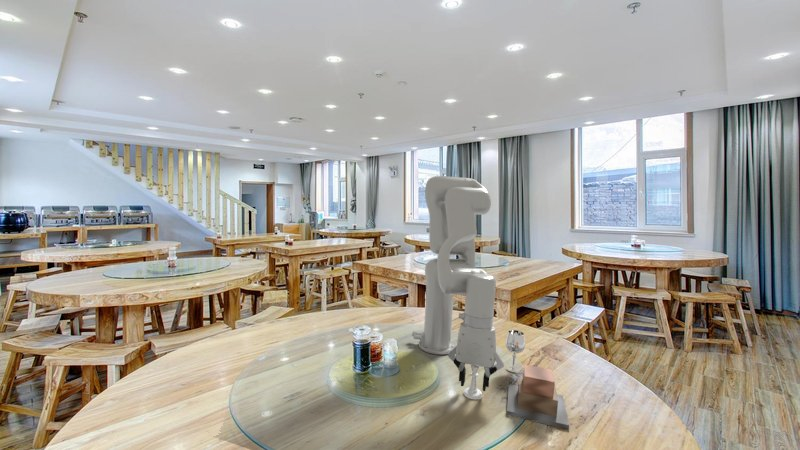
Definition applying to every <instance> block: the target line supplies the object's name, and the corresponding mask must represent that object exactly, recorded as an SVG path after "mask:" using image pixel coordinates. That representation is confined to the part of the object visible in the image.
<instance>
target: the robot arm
mask: <svg viewBox="0 0 800 450" xmlns="http://www.w3.org/2000/svg"><path fill="white" fill-rule="evenodd" d="M424 188H425V189H424V196H425V203H426V206H427V209H428V214H429V215H428V216H429V249H430V251H431V252H432V254H436V255H437V258H432V259H430V260H428V262H426V264H425V267H424V274H425V275H424V276H425V277H424V278H425V288H426V289H425V290H426V291H425V310H424V324H423V325H424V327H423V331H421V332H419V331H415V330H412V334H411V336H412V338H413V339H414V340H419V342H418V347H419V349H420V350H422V351H423V352H425V353H428V354H431V355H432V354H433V355H442V356H443V355H447V357H448V358H449V359H450V360H451V361H452V362H453V364H454V365H455V367H456V368H457V369H458V373H459V374H458V382H460V387H464V386H465V383H466V372H467V368H466V366H465V365H470V366H471V365H476V366H479V367H482V368H483V370H484V373H483V377H482V378H483V379H482V392H486V390H487V389H486V388H489V385H490V377H491V376H492V375H493V374H494V373H496V372H497V371H500V370H501V369H503V368H504V366H505V363H504V361H503V360H502V359H501V357H500V355H499V354H498V353H497V335H496V327H495V326H494V325H493V324H494V314H495V312H494V311H495V300H496V299H495V298H496V284H497V283H496V281H497V280H496V278H495V277H494V276H493V275H491V274H488V273H487V272H486V271H485V270H484V269H482V268H477V267H476V241H475V240H476V239H475V237H476V236H477V235H478V234H477V233H478V229H477V224H476V217H475V215H480V216H481V215H483V216H484V215H486V214H487V213H489V211H490V209H491V205H492V203H491V202H492V199H491V196H490V193H489V191H488V190H487V189H486V188H485V186H483V184H481V183H480V182H478V181H477V180H476V179H474V178H470V177H459V176H458V177H457V176H449V175H448V176H447V175H446V176H444V175H440V176H439V175H437V176H432V177H430V178H429V179H428V180H427V181H426V183H425V187H424ZM450 256H458V258H450ZM455 295H456V296H457V295H461V296H462V295H463V296H464V295H465V300H464V301H465V303H464V312H462V313H460V312H459V314H458V319H461V320H462V322H460V325H459V329H458V333H457V335H458V336H457V340H456V345H455V344H454V342H452V338H451V337H452V322H453V313H454V312H453V309H454V299H453V296H455ZM495 362H496V363H495Z"/></svg>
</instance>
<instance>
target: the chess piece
mask: <svg viewBox="0 0 800 450" xmlns="http://www.w3.org/2000/svg"><path fill="white" fill-rule="evenodd" d="M470 366H471V371H472V372H470V376H472V378H471V381H470V382H471V383H470V386H469V387H466V388H464V389H463V390H464V391H463V395H464V396H465V397H466V398H468V399H469V400H470V399H471V400H476V401H477V400H480V399H482V398H483V393H482V392H483V391H482V390H481V389H479V388H478V386H477V377H479V373H478V369H479V367H480V366H476V365H471V364H470ZM481 397H482V398H481Z"/></svg>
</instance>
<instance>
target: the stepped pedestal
mask: <svg viewBox="0 0 800 450" xmlns="http://www.w3.org/2000/svg"><path fill="white" fill-rule="evenodd" d="M507 388H508V389H507V390H508V391H507V405H506V416H510V417H515V418H518V417H520V418H519V419H522V418H523V420H528V421H532V422H536V423H540V424H545V425H549V426H552V427H557V428H562V429H566V430H570V422H569V419H568V413H567V409H566V405H565V400H564V395H563V394H558V392H557V387H556V382H555V377H554V372H553V369H549V368H545V367H539V366H534V365H529V364H523V374H522V376H519V377H518V385H515V384H511V383H509V384H508V387H507Z"/></svg>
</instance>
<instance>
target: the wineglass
mask: <svg viewBox="0 0 800 450" xmlns="http://www.w3.org/2000/svg"><path fill="white" fill-rule="evenodd" d="M525 346H526V338H525V333H524V332H522V331H521V330H516V329H510V330H509V329H508V332H507V335H506V338H505V347H506V349H507V351H509V352H510V353H512V367H509V368H510V369H512V370H515V369H516V368H517V367H516V366H515V359H516V358H517V355H516V354H520V353H522V352H523V351H524V350H525ZM515 367H516V368H515Z"/></svg>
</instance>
